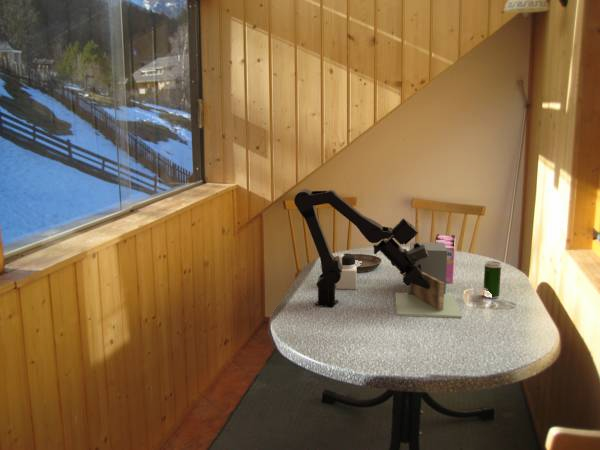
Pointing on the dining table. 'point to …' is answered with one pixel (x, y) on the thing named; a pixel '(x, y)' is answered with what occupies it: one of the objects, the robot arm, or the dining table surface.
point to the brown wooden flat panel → (431, 292)
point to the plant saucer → (367, 262)
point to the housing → (437, 269)
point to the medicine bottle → (347, 272)
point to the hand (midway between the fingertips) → (428, 287)
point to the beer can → (492, 278)
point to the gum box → (448, 254)
